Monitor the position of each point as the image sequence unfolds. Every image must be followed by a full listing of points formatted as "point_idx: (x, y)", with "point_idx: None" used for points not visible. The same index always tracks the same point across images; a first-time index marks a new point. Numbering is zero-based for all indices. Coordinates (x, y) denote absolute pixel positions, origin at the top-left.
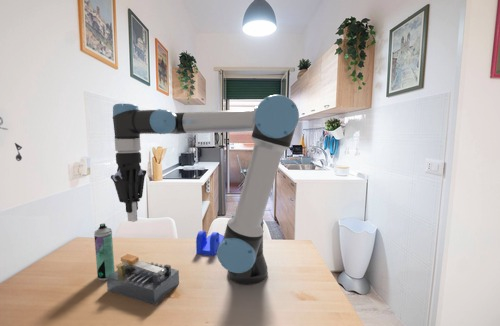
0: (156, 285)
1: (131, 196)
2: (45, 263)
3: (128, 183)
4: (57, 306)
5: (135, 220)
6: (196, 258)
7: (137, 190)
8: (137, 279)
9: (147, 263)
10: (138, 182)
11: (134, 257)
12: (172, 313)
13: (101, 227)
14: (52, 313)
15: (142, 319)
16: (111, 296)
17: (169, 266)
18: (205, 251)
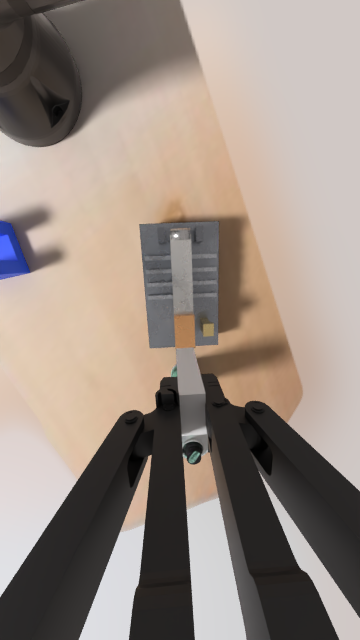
0: (204, 228)
1: (219, 427)
2: (198, 486)
3: (301, 572)
4: (265, 366)
5: (185, 349)
6: (47, 258)
7: (156, 462)
8: (205, 280)
9: (173, 287)
10: (84, 580)
11: (179, 323)
12: (216, 179)
13: (199, 449)
14: (277, 357)
15: (245, 220)
16: (221, 316)
17: (161, 227)
18: (14, 247)
